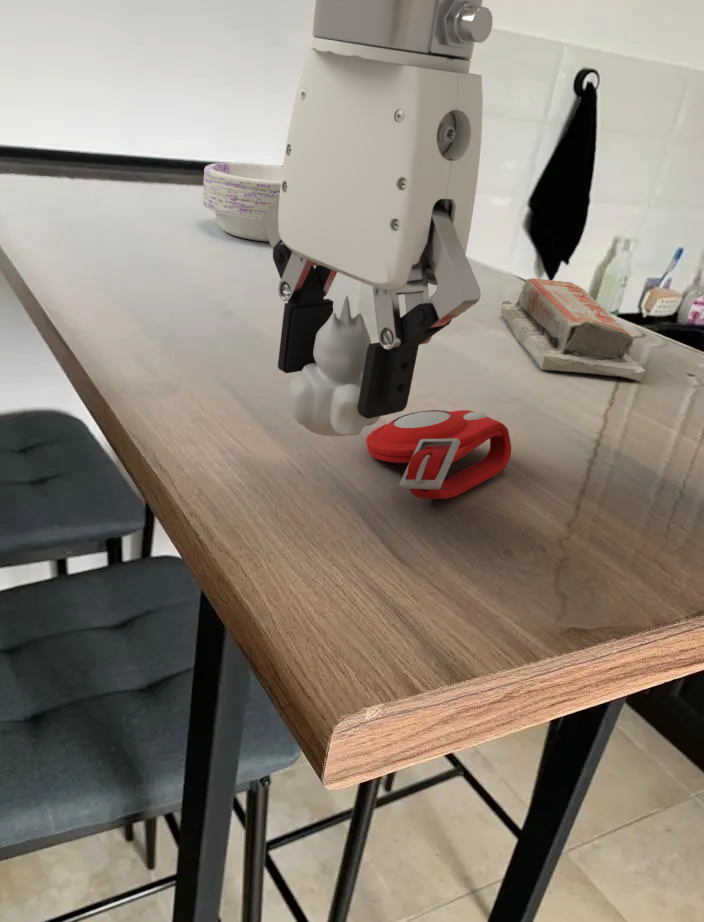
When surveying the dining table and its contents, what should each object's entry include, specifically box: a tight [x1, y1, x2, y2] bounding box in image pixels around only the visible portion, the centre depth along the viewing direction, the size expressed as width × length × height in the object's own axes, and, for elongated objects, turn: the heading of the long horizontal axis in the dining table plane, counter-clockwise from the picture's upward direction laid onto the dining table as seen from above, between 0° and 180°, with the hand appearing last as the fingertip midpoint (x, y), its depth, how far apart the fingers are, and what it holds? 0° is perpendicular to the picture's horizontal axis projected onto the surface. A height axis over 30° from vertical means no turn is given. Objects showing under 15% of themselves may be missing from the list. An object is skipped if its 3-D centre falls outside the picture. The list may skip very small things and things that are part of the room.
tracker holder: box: [365, 409, 512, 500], centre depth 57 cm, size 12×4×10 cm
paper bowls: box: [202, 162, 283, 242], centre depth 112 cm, size 15×15×8 cm
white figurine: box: [287, 295, 381, 437], centre depth 48 cm, size 5×7×8 cm
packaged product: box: [500, 278, 647, 382], centre depth 86 cm, size 18×5×10 cm
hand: (340, 387), depth 48 cm, fingers closed on white figurine, 6 cm apart
